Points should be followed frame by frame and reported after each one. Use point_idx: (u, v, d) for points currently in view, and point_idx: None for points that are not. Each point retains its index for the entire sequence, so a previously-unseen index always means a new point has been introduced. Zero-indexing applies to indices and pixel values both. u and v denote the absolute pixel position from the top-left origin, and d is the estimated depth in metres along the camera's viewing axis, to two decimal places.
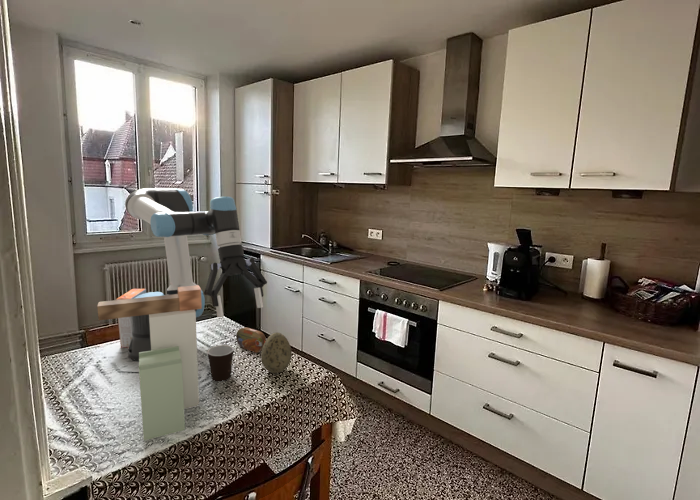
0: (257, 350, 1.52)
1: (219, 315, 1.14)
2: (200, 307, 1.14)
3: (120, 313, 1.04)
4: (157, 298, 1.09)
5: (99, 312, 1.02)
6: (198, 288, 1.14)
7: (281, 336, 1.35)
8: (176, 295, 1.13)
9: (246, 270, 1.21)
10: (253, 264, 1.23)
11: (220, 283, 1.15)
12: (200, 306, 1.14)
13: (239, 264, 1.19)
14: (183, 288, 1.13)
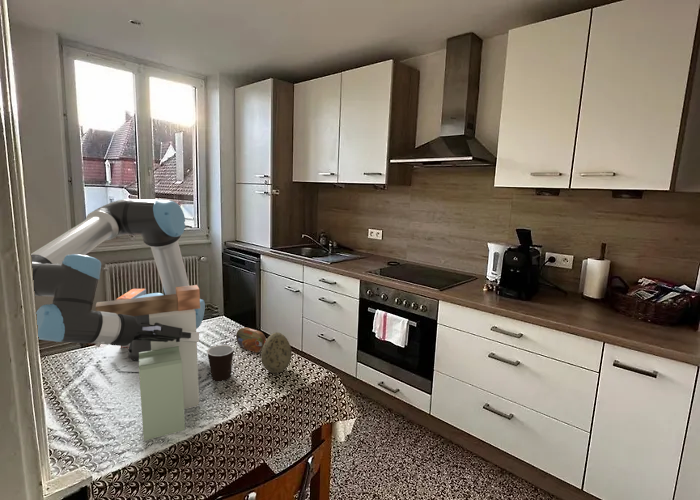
0: (257, 350, 1.52)
1: None
2: (198, 307, 1.14)
3: (118, 313, 1.04)
4: (155, 298, 1.09)
5: None
6: (197, 288, 1.14)
7: (281, 336, 1.35)
8: (174, 295, 1.13)
9: (152, 338, 0.98)
10: (158, 334, 0.96)
11: (159, 339, 1.03)
12: (198, 306, 1.14)
13: (140, 338, 0.96)
14: (181, 288, 1.13)
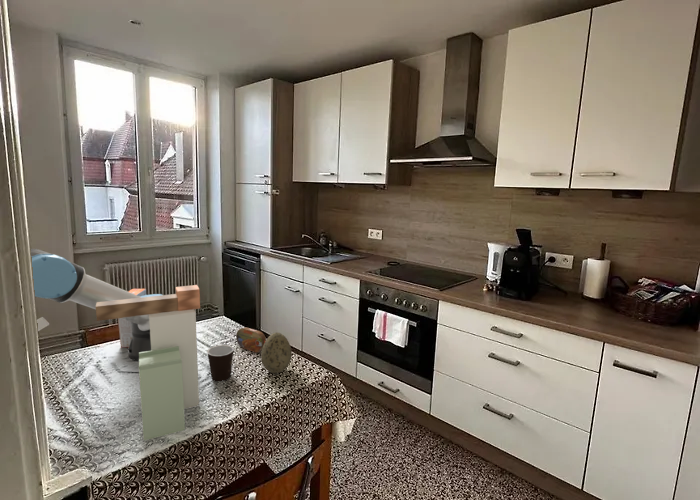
0: (257, 350, 1.52)
1: None
2: (198, 307, 1.14)
3: (118, 313, 1.04)
4: (155, 298, 1.09)
5: (97, 312, 1.01)
6: (197, 288, 1.14)
7: (281, 336, 1.35)
8: (174, 295, 1.13)
9: None
10: None
11: None
12: (198, 306, 1.14)
13: None
14: (181, 288, 1.13)
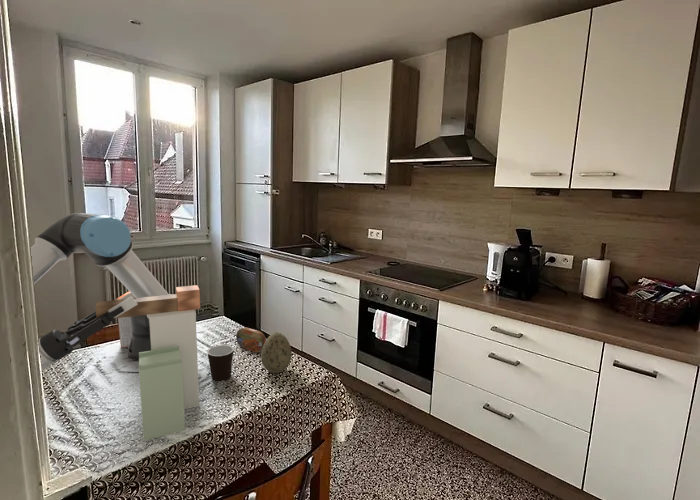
0: (257, 350, 1.52)
1: None
2: (198, 307, 1.13)
3: None
4: (155, 298, 1.09)
5: (97, 312, 1.02)
6: (197, 288, 1.13)
7: (281, 336, 1.35)
8: (174, 295, 1.12)
9: None
10: None
11: None
12: (198, 306, 1.13)
13: None
14: (181, 288, 1.13)
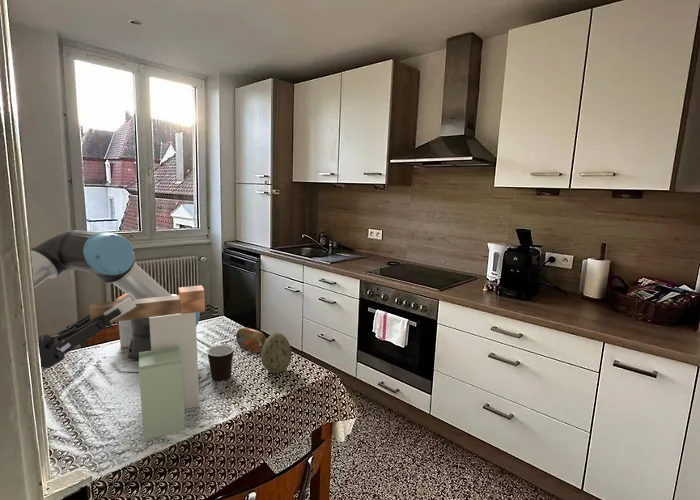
0: (257, 350, 1.52)
1: None
2: (203, 309, 1.03)
3: None
4: (156, 300, 0.99)
5: (91, 315, 0.91)
6: (201, 289, 1.03)
7: (281, 336, 1.35)
8: (177, 296, 1.02)
9: None
10: None
11: None
12: (203, 308, 1.03)
13: None
14: (185, 289, 1.02)
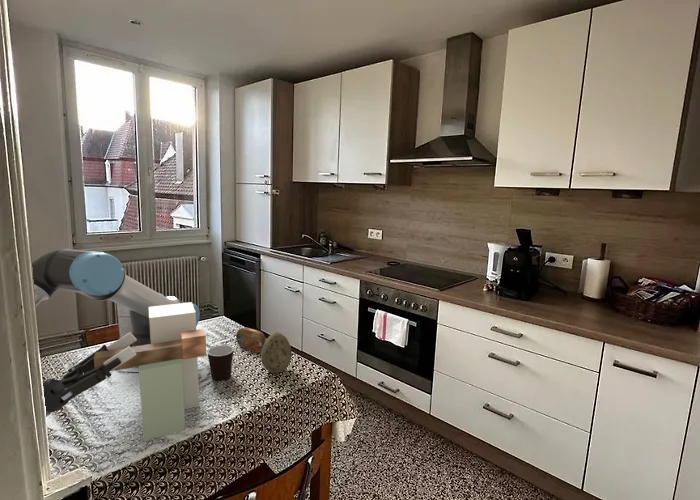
0: (257, 350, 1.52)
1: None
2: (205, 354, 1.06)
3: None
4: (158, 346, 1.01)
5: (96, 365, 0.94)
6: (203, 334, 1.05)
7: (281, 336, 1.35)
8: (179, 341, 1.05)
9: None
10: None
11: None
12: (205, 353, 1.06)
13: None
14: (186, 334, 1.05)
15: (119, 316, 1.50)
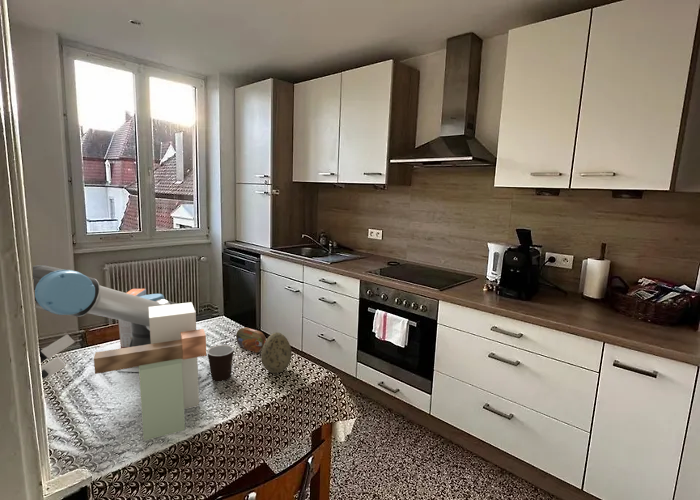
0: (257, 350, 1.52)
1: None
2: (205, 354, 1.06)
3: (118, 365, 0.96)
4: (158, 346, 1.01)
5: (96, 365, 0.94)
6: (203, 334, 1.05)
7: (281, 336, 1.35)
8: (179, 341, 1.05)
9: None
10: None
11: None
12: (205, 353, 1.06)
13: None
14: (186, 334, 1.05)
15: None
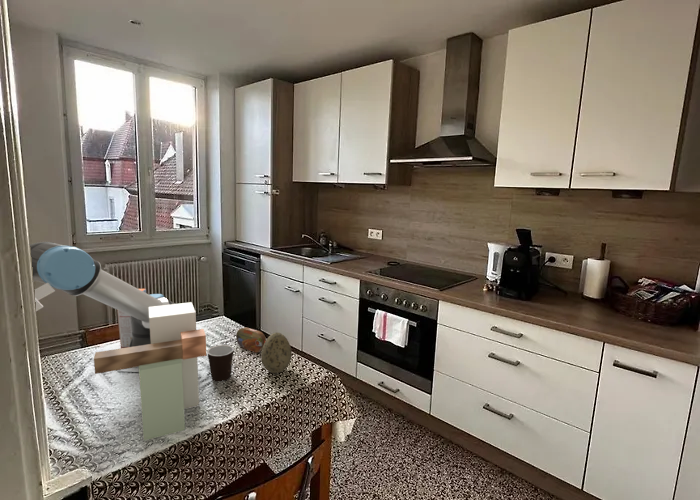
0: (257, 350, 1.52)
1: None
2: (205, 354, 1.06)
3: (118, 365, 0.96)
4: (158, 346, 1.01)
5: (96, 365, 0.94)
6: (203, 334, 1.05)
7: (281, 336, 1.35)
8: (179, 341, 1.05)
9: None
10: None
11: None
12: (205, 353, 1.06)
13: None
14: (186, 334, 1.05)
15: (119, 316, 1.50)
